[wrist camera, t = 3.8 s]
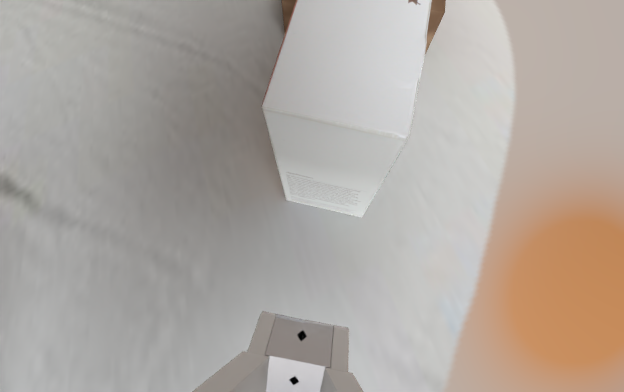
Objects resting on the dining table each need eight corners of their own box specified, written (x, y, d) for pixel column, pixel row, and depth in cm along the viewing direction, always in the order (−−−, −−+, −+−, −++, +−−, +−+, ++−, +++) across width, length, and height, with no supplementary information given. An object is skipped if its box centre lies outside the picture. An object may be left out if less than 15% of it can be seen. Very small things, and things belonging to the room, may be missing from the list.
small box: (307, 115, 28) (305, -35, 15) (380, 130, 27) (437, -12, 15) (283, 202, 25) (257, 106, 13) (362, 220, 25) (414, 139, 13)
